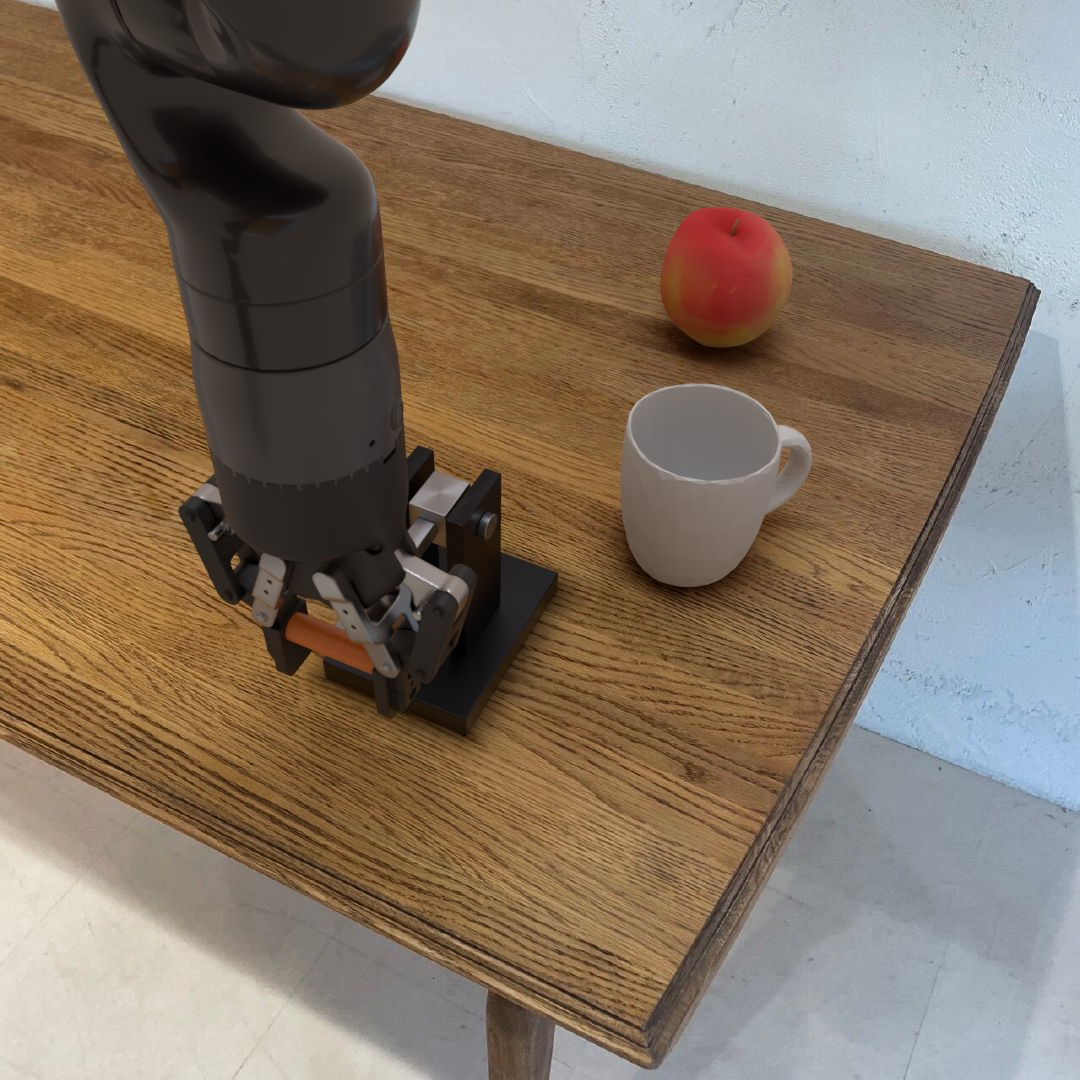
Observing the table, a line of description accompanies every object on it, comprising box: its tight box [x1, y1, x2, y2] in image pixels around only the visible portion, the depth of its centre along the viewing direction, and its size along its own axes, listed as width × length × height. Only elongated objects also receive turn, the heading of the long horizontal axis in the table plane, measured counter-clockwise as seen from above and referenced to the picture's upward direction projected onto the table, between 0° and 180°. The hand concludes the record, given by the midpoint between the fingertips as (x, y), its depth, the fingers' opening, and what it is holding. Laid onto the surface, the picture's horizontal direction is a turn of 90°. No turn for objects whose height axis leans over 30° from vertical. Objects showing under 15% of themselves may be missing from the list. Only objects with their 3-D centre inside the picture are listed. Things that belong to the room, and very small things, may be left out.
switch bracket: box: [322, 444, 559, 736], centre depth 63 cm, size 12×9×12 cm
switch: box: [285, 470, 471, 674], centre depth 57 cm, size 12×5×2 cm, turn 155°
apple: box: [659, 206, 794, 348], centre depth 85 cm, size 10×10×10 cm
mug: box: [619, 382, 813, 588], centre depth 69 cm, size 13×9×10 cm
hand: (345, 681), depth 56 cm, fingers closed on switch, 5 cm apart
